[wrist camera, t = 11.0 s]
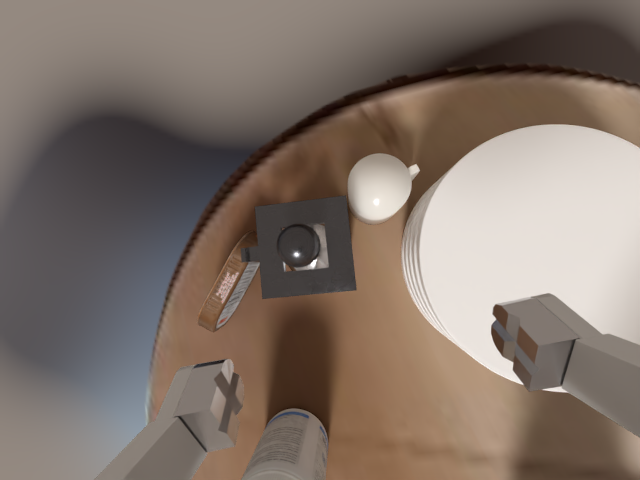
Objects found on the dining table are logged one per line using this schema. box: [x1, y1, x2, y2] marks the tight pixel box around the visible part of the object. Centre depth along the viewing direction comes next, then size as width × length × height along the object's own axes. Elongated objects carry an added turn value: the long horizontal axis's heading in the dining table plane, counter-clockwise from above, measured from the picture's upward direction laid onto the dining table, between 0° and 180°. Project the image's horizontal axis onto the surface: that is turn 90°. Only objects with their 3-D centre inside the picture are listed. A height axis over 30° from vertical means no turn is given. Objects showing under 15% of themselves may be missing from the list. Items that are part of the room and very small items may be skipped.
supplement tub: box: [241, 408, 328, 480], centre depth 35 cm, size 10×10×15 cm
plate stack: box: [401, 124, 640, 392], centre depth 36 cm, size 28×28×12 cm
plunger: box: [276, 223, 329, 271], centre depth 31 cm, size 7×7×14 cm
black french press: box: [241, 196, 356, 299], centre depth 37 cm, size 12×10×15 cm
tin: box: [197, 230, 260, 332], centre depth 41 cm, size 15×3×8 cm, turn 152°
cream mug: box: [348, 153, 420, 225], centre depth 39 cm, size 9×8×9 cm
